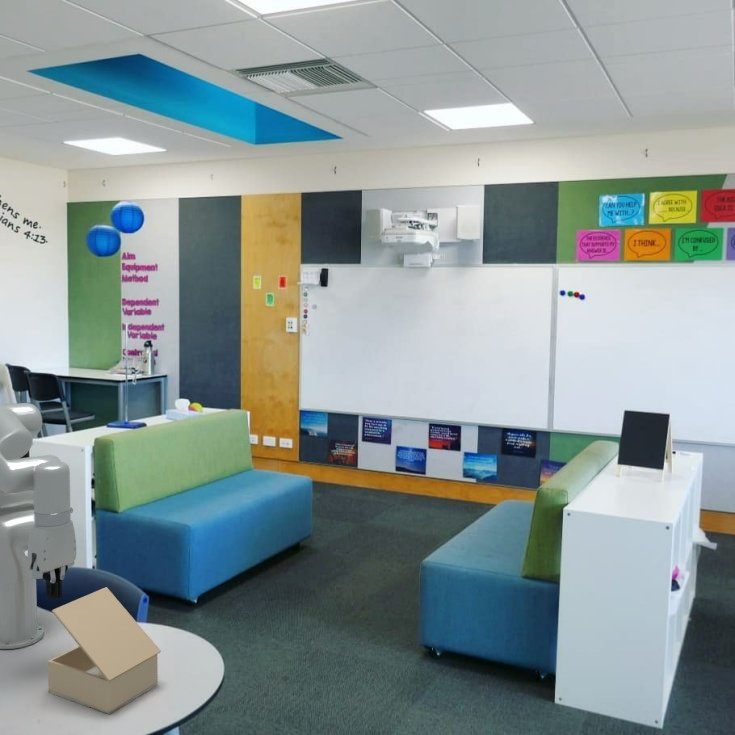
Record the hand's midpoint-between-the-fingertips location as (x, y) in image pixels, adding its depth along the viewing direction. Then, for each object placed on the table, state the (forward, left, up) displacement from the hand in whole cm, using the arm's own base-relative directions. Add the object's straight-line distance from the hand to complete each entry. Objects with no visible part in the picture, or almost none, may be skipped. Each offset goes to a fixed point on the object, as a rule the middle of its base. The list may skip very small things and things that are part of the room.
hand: (54, 597), depth 176 cm
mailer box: (+15, 0, -18) cm, 23 cm away
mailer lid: (+16, 0, -5) cm, 17 cm away
